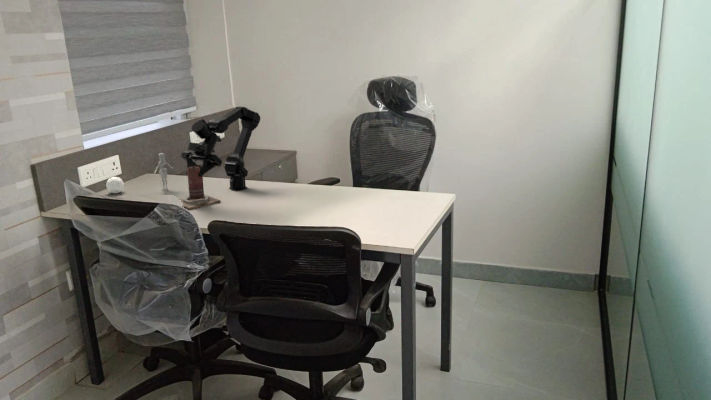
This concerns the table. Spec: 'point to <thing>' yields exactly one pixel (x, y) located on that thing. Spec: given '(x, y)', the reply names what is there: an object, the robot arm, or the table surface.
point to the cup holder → (198, 202)
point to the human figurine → (162, 170)
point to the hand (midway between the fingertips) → (193, 175)
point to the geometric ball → (115, 185)
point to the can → (195, 182)
